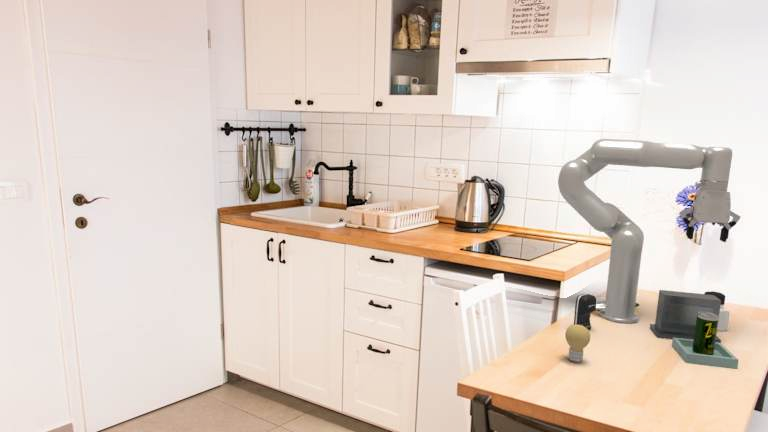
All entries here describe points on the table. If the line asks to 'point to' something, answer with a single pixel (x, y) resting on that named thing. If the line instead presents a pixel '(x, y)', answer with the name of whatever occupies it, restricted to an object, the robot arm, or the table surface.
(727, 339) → the table surface
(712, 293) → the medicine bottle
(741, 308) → the table surface
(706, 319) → the beer can
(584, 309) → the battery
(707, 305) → the housing
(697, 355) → the tray
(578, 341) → the light bulb
